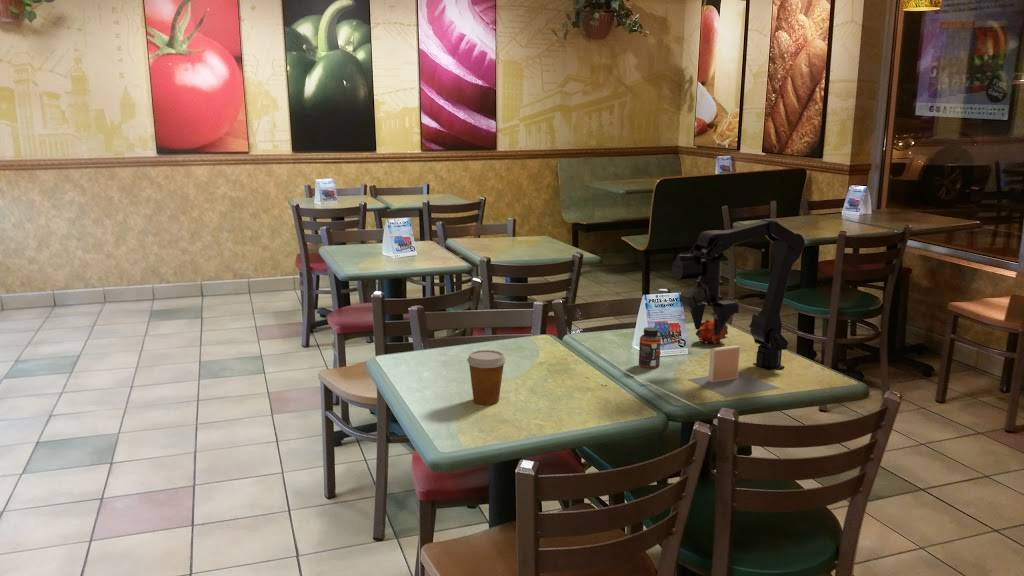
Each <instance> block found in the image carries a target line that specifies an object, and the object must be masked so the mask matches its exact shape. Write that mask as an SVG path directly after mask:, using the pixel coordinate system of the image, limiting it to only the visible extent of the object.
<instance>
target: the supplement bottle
mask: <svg viewBox="0 0 1024 576" xmlns="http://www.w3.org/2000/svg"><path fill="white" fill-rule="evenodd" d="M661 338H662V337H661V336H660V335H659V329H658V328H656V327H653V326H652V327H647V326H645V327H644V328H643V334H641V336H640V337H639V349H638V350H639V351H638V366H639V367H640V368H644V369H653V370H654V369H657V368H659V367H660V364H661V363H660V362H661V361H660V360H661V345H662V342H661V341H662V339H661Z"/></svg>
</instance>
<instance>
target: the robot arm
mask: <svg viewBox="0 0 1024 576" xmlns="http://www.w3.org/2000/svg"><path fill="white" fill-rule="evenodd" d="M762 237H766V238H767V240H769V241H771V243H772V249H771V250H772V251H771V252H772V256H773V258H774V259H773V261H774V262H773V266H772V270H771V275H770V278H769V282H768V286H767V289H766V293H765V297H764V300H763V301H764V302H763V304H762V308H761V311H760V312H758V314H756V313H753V314H752V316H751V322H750V324H749V326H748V327H749V328H750V330H749V331H750V334H751V337H753V341H754V343H755V344H756V345H758V346H757V351H756V361H755V362H753V363H752V365H753V366H755V367H757V368H760V369H761V368H762V369H764V370H767V371H773V370H775V369H776V370H781V369H782V368H783V369H785V366H784V365H782V354H783V351H784V350H785V351H786V350H787V347H788V345H789V341H788V340H787V339H786V338H785V337H784V336H783V335H782V329H783V324H782V323H783V322H782V319H781V310H782V306H783V302H784V298H785V294H786V291H787V287H788V283H789V279H790V276H791V272H792V269H793V265H795V263H796V262H797V261H798V259H799V258H800V257H801V256H802V253H803V250H804V248H805V245H806V240H805V239H804V237H803V235H801V234H799V233H796V232H793V231H792V230H790V229H788V228H786V227H785V226H783V225H781V223H779V222H778V221H776V220H774V219H769V218H763V219H761V220H758V221H755V222H751V223H749V224H748V223H747V224H745V225H741V226H737V227H734V228H733V227H732V228H729V229H724V230H723V229H720V230H718V229H715V230H714V229H713V230H705V231H701V233H699V235H698V237H697V239H696V240H697V241H696V242H695V243H694V244H693V246H692V248H691V249H690V250H689V252H688V254H677V255H676V259H674V260H673V263H672V266H671V271H672V275H673V277H674V279H675V280H677V281H681V280H695V282H694V286H693V287H690V288H688V289H686V290H685V291H682V292H681V293H680V294H679V300H678V301H679V302H680V303H682V304H681V305H683V306H684V307H685V308H687V309H688V311H690V312H689V313H690V314H691V317H692V318H691V319H692V321H693V325H694V328H695V330H698V329H700V325H701V323H702V321H703V317H704V314H705V313H704V312H705V308H706V306H708V307H711V308H712V311H713V312H710V314H711V315H712V317H713V318H714V319H713V320H714V332H715V336H719V334H720V332H721V331H722V329H723V327H724V325H725V324H726V325H727V322H728V320H730V318H731V316H734V314H738V313H739V312H740V311H739V309H740V305H739V304H738V302H736V301H732V300H724V299H723V298H724V297H723V296H722V295H720V292H721V291H720V290H721V289H720V288H721V286H724V281H722V280H721V271H722V270H721V269H722V262H729V258H728V257H727V256H726V255H725V252H726V251H728V250H730V249H731V248H732V246H735V245H737V244H742V243H744V242H748V241H752V240H755V239H759V238H762ZM696 279H698V280H696Z"/></svg>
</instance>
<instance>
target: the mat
mask: <svg viewBox="0 0 1024 576" xmlns="http://www.w3.org/2000/svg"><path fill="white" fill-rule="evenodd" d="M708 378H709V375H708V376H702V377H700V376H699V377H693V378H687V380H688V381H689V382H692V383H694V384H696V385H698V386H701V387H703V388H705V389H707V390H709V391H711V392H714V393H716V394H718V395H720V396H723V397H724V398H729V397H731V398H732V397H737V396H741V395H742V396H743V395H748V394H754V393H760V392H766V391H767V392H768V391H773V390H778V389H780V387H778V386H777V385H776V386H775V385H773V384H770V383H768V382H765V381H763V380H761V379H758V378H755V377H754V376H751V375H749V374H746V373H743V372H741V371H738V378H736V379H729V380H723V381H717V382H710V381H708Z"/></svg>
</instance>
